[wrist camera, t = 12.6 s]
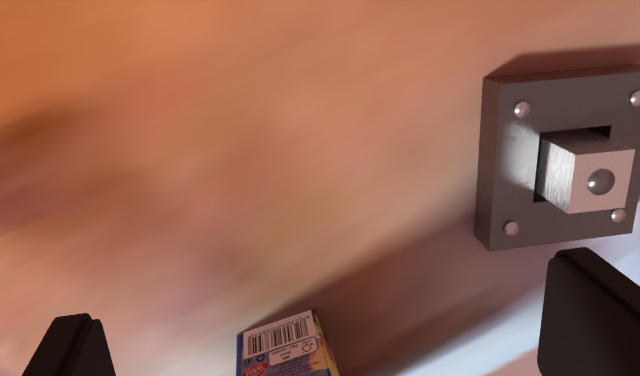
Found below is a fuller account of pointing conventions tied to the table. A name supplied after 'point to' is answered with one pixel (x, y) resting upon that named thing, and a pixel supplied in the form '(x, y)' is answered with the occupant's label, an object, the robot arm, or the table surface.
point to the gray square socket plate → (522, 150)
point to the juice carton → (286, 349)
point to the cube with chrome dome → (582, 170)
